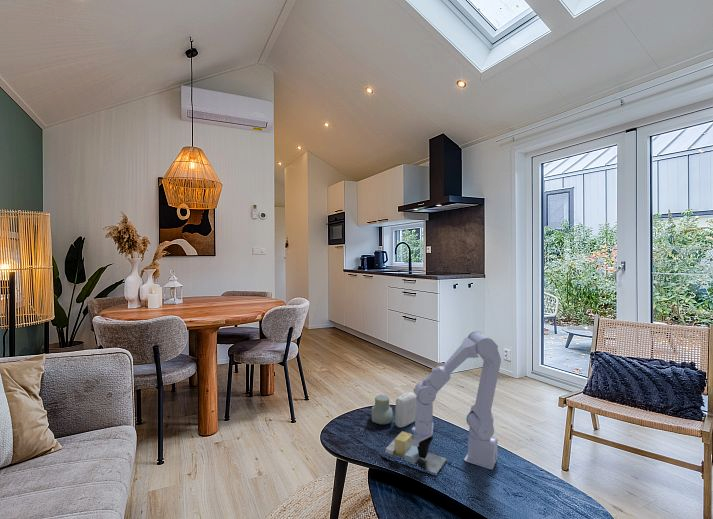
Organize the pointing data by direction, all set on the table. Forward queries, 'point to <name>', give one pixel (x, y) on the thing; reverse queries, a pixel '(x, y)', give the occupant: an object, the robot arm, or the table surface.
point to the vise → (429, 463)
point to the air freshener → (382, 410)
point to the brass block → (402, 443)
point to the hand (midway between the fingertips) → (422, 456)
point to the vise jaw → (412, 454)
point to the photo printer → (405, 409)
